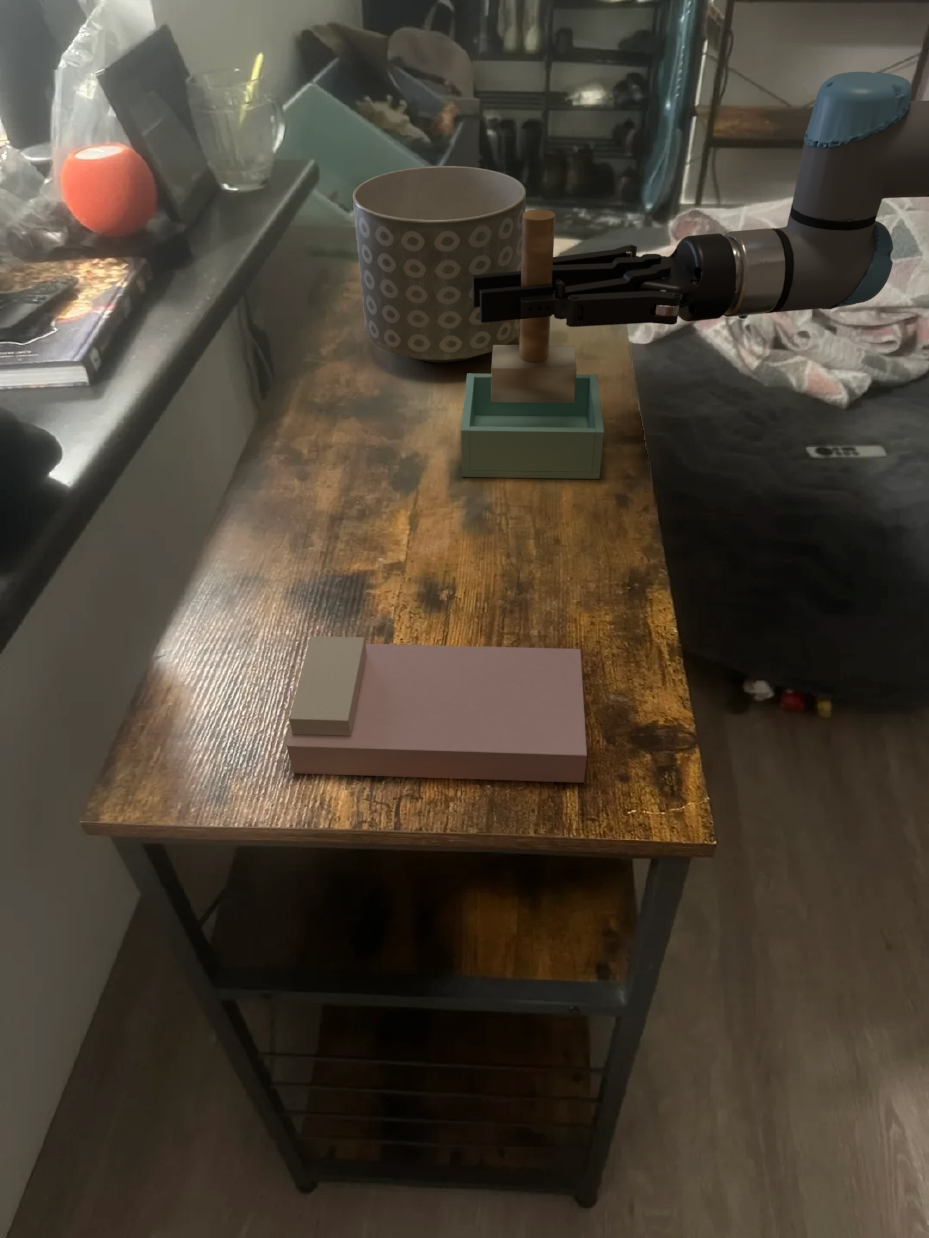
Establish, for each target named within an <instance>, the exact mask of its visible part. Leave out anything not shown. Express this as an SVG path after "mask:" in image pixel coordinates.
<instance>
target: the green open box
mask: <svg viewBox="0 0 929 1238" xmlns="http://www.w3.org/2000/svg"><path fill="white" fill-rule="evenodd" d="M465 380H466V381H465V391H464V399H463V407H462V416H461V427H460V451H461V453H460V454H461V456H460V457H461V477H462V478H503V479H504V478H506V479H507V478H508V479H509V478H511V479H573V480H574V479H576V480H577V479H579V480H580V479H581V480H584V479H585V480H600V478H601V467H602V458H603V457H602V456H603V449H604V438H605V427H604V421H603V420H604V419H603V411H602V402H601V395H600V386H599V378H598V374H579V373H578V374H577V373H576V384H575V398H574V403H525V402H491V373H474V372H472V373H470V372H469V373H468V372H467V374H466V379H465Z"/></svg>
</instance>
